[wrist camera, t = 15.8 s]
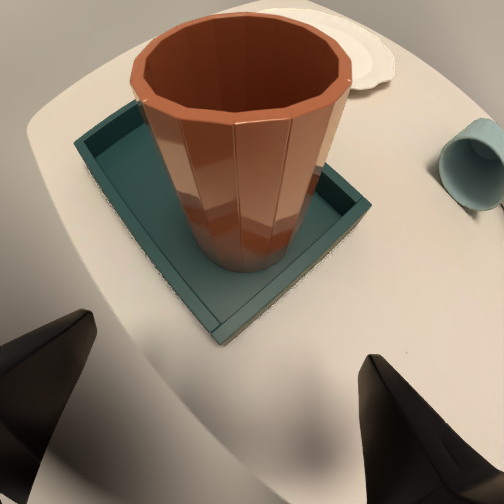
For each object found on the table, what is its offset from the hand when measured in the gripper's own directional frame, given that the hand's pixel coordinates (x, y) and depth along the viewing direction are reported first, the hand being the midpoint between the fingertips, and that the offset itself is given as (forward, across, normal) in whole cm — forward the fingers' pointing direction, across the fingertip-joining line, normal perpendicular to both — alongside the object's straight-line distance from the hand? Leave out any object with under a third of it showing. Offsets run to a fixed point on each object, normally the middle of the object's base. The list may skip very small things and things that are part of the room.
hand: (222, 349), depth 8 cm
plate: (+31, -3, -17) cm, 35 cm away
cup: (+21, -20, -12) cm, 32 cm away
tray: (+15, +4, -1) cm, 15 cm away
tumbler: (+12, +1, 0) cm, 12 cm away
